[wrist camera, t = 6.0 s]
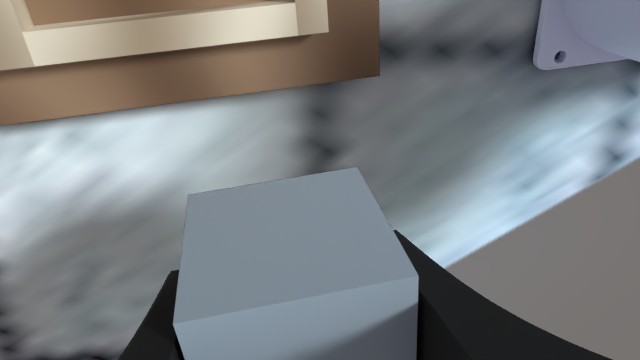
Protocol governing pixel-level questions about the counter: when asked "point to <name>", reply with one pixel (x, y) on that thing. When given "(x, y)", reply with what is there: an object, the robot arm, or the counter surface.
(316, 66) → the base board
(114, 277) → the counter surface
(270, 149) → the counter surface
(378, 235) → the block
